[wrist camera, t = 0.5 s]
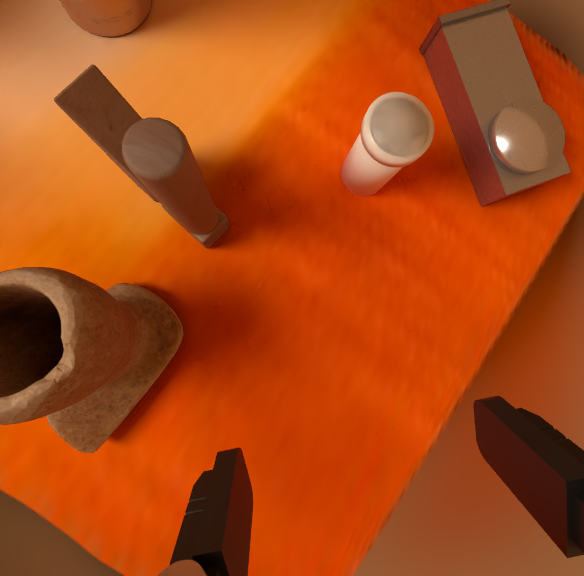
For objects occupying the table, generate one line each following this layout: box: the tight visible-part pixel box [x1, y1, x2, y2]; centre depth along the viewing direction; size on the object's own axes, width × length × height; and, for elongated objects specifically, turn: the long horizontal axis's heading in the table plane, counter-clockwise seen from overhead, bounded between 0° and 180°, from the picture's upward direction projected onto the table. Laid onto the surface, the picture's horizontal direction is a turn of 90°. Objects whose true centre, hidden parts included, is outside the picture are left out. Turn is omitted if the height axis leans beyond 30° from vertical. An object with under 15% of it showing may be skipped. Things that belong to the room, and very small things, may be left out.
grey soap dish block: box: [419, 0, 571, 207], centre depth 37 cm, size 20×8×5 cm, turn 20°
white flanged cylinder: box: [341, 92, 434, 196], centre depth 33 cm, size 6×6×10 cm
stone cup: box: [0, 267, 184, 453], centre depth 27 cm, size 15×12×15 cm
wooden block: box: [54, 65, 230, 249], centre depth 27 cm, size 4×11×18 cm, turn 48°
